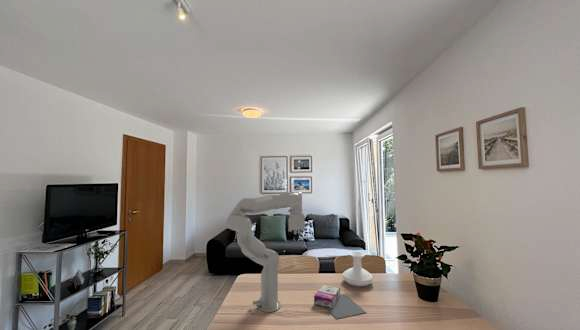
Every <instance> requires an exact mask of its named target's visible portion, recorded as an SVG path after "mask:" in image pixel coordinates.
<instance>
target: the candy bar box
mask: <svg viewBox="0 0 580 330" xmlns="http://www.w3.org/2000/svg"><path fill="white" fill-rule="evenodd" d="M340 294H341V288H340V287H336V286H333V285H332V286H330V285H327V284H322V285H321V287H320V288H319V289H318V291H316V292H315V294H314V296H313V303H314V305H316V306H320V307H325V308H326V307H329V308H333V307H334V305H335V303H336V302H337V300H338V298H339V297H340Z"/></svg>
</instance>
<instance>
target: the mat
mask: <svg viewBox="0 0 580 330" xmlns="http://www.w3.org/2000/svg"><path fill="white" fill-rule="evenodd" d="M325 309H327V311H328V312H330V314H331V315H332V316H333V317H334V318H335V319H336V320H339V319H344V318H349V317H354V316H355V317H356V316H359V315H364V314H367V311H365V310H364V308H362V307H361V306H360V305H358V304H357V302H355V301H354V300H353V299H352V298H351V297H349V296H348V295H347V294H346V293H340V297H339V298H338V300H337V302H336V303H335V305H334V307H333V308H329V307H325Z"/></svg>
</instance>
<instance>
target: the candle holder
mask: <svg viewBox="0 0 580 330" xmlns="http://www.w3.org/2000/svg"><path fill="white" fill-rule="evenodd" d="M349 255H350V256H351V258H352V263H353V265H352V267H351V268H348V269H346V270H345V271H343V272H342V279H343V280H344V281H345V282H346V283H347V284H349V285H350V286H354V287H360V288H361V287H366V286H369V285H370V284H372V282H373V275H372V274H371V273H370V272H369V271H368V270H366V269H364V268H363V267H362V258H364V257H365V256H366V254H365V253H364V252H358V251H353V252H349Z"/></svg>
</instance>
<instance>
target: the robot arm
mask: <svg viewBox="0 0 580 330" xmlns="http://www.w3.org/2000/svg"><path fill="white" fill-rule="evenodd" d="M286 208H289V209H288V210H287V212H288V213H289V214H288V223H287V225H288V226H287V227H288V230H287V231H288V232H291V233H293V240H294V241H296V242H297V241H299V239H300V234H301V232H302V231H305V228H306V221H305V214H304V213H303V194H302V192H300V191H291V192H289V191H284V192H281V193H279V194H269V195H263V196H258V197H243V198H242V199H241V200H240V201H239V202H237V203H236V205H235V207H234V208H233V209H232V211H231V212H230V213H229V215H228V217H226V223H225V224H226V227H227V228H228V229H229V230H231V231H235V232H237V237H236V239H237V240H236V242H237V244H238V246H239V247H240V249H241V250H240V251H241V253H242V254H243V255H244V256H245V257H247V258H248V259H250V260H251V261H253V262H255V263H256V264H259V265H260V266H263V268H262V270H261V272H260V273H261V274H260V297H259V298H258V299H257V300H252V305H253V306H255V307H258V310H260V312H263V313H273V312H277V311H278V310H280V308H281V306H282V305H281V301H279V299H278V297H279V293H278V291H279V289H278V288H279V287H278V285H279V281H278V279H279V278H278V277H279V275H278V273H279V266H280V265H279V264H280V255H279V253H278V252H277V251H275V250H273V249H271V248H267V247H266V245H265V243H264V242H262V241H261V240H259V239H258V238H257V237H256V236H255V235H254V234H253V233H252V228H253V223H252V221H251V219H250V217H248V216H246V215H247V214H249V215H257V214H259V213H264V212H267V211H271V210H280V209H286Z"/></svg>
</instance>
